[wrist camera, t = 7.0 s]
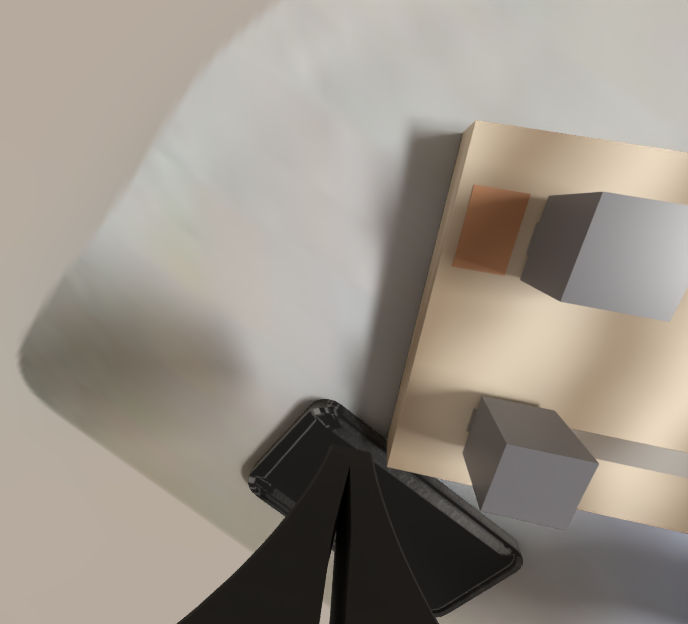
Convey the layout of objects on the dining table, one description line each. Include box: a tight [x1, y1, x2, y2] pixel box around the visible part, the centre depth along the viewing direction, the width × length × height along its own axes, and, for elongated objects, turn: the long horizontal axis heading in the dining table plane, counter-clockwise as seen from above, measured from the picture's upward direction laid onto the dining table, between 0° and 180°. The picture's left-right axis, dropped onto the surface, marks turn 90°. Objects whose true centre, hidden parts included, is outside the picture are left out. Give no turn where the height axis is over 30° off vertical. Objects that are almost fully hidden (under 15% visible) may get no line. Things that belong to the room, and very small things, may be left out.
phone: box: [248, 399, 523, 617], centre depth 19 cm, size 8×1×15 cm
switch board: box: [387, 120, 688, 534], centre depth 14 cm, size 16×15×2 cm
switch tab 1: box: [462, 396, 599, 530], centre depth 13 cm, size 3×3×3 cm
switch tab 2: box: [520, 192, 688, 322], centre depth 10 cm, size 3×3×3 cm
